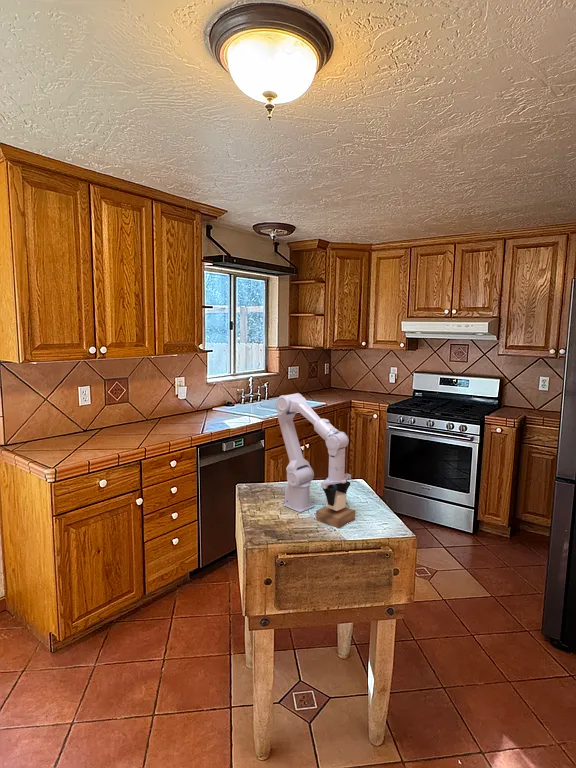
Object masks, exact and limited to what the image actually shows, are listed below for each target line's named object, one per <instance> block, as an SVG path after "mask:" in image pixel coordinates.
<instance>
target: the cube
mask: <svg viewBox="0 0 576 768" xmlns="http://www.w3.org/2000/svg"><path fill="white" fill-rule="evenodd" d="M325 499H326V502H325V505H326V507H328V508H330V509H333V510H336V511H338V510H340V509H343V508H345V507H347V493H346V494H345V493H342V492H339V491H336V494H335V501H334V506H331V505H328V501H327V497H326V496H325Z"/></svg>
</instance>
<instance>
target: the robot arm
mask: <svg viewBox="0 0 576 768" xmlns="http://www.w3.org/2000/svg"><path fill="white" fill-rule="evenodd" d="M275 407H276V411H277V420H278V424H279V427H280V432H281V435H282V438H283V443H284V446H285V450H286V454H287V457H288V460H289V462H288V465H287V466H286V468H285V471H286V480H287V484H286V485H285V489H284V503H283V505H284V507H285V508H289V509H291V510H294V511H295V512H298V513H303V512H305V511H307V510H310V509H312V508H315V506H314V504H310V494H311V493H310V490H311V489H310V487H311V484H312V483H311V482H312V480H314V478H315V477H314V476H315V473H314V470H313V468H312V466H311V465H310V462H309V461H308V460H307V459H305V458H304V455H303V451H302V449H301V444H300V441H299V437H298V434H297V430H296V427H295V423H294V422H295V421H294V418H295V416H296V415H297V414H300V415H301V416H302V417H303V418H305V419H306V420H307V421H308V422H310V423H311V424H312V425H313V431H314V432H316V433H317V435H319V436H320V437H321V438H322V439H323V441H325V446H326V448H327V453H328V476H327V478H326V479H324V480H323V481H321V482H320V488H322V490H323V492H324V494H325V498H326V497H327V501H328V505H331V506H334V501H335V494H336V491H339V492H342V493H345V494H346V495H347V493H348V492H347V491H348V489H349V487H350V486H351V482H350V481H351V480H352V474H350V473H347V472H346V471H345V470H346V447H347V446H348V445H349V441H350V440H349V436H348V435H347V434H346V432H344V431H339V429H337V428H335V426H333V424H331V422H330V420H329V419H326V418H321V417H320V416H319V415H318V414H317V413H316V412H315V411H314V410H313V408H312V407H311V406H310V405H309V404H308V403H307V400H306V398H305V396H303V395H302V394H301V393H299V392H297V393H293V394H292V393H291V394H285V395H284V394H282V395H279V397H278V398H277V400H276V402H275ZM345 472H346V473H345ZM335 484H336V486H337V488H334V486H333V485H335ZM346 492H347V493H346Z"/></svg>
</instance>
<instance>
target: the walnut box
mask: <svg viewBox="0 0 576 768" xmlns="http://www.w3.org/2000/svg"><path fill="white" fill-rule="evenodd" d="M315 512H316V513H315V521H317V522H319V523H323V524H325V525H328V526H330V527H333V528H335V527H336V529H340V528H342V526H343V527H344V526H346V525H348V524H350V523H352V522H354V521H355V520H356V509H353V508H350V507H347V506H346V507H345V508H343V509H340V510H338V511H336V510H333V509H330V508H328V507H326V506H323V507H321V508H319V509H317V510H316V511H315ZM353 520H354V521H353ZM351 521H352V522H351ZM349 522H350V523H349ZM347 523H348V524H347Z"/></svg>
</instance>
